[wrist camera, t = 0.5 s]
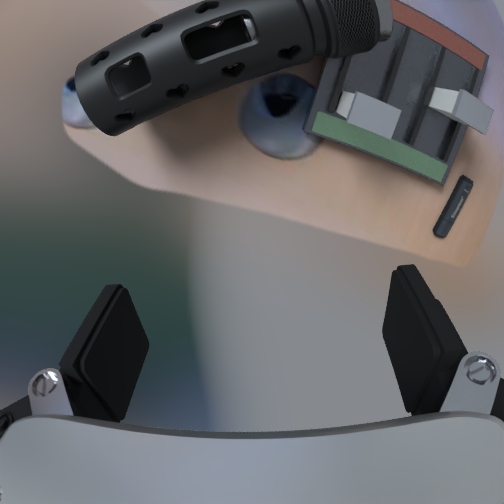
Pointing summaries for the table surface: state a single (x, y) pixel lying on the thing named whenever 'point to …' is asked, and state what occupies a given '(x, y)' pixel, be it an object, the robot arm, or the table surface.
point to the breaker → (368, 113)
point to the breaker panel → (402, 93)
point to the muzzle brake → (219, 52)
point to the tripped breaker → (462, 108)
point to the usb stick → (453, 206)
